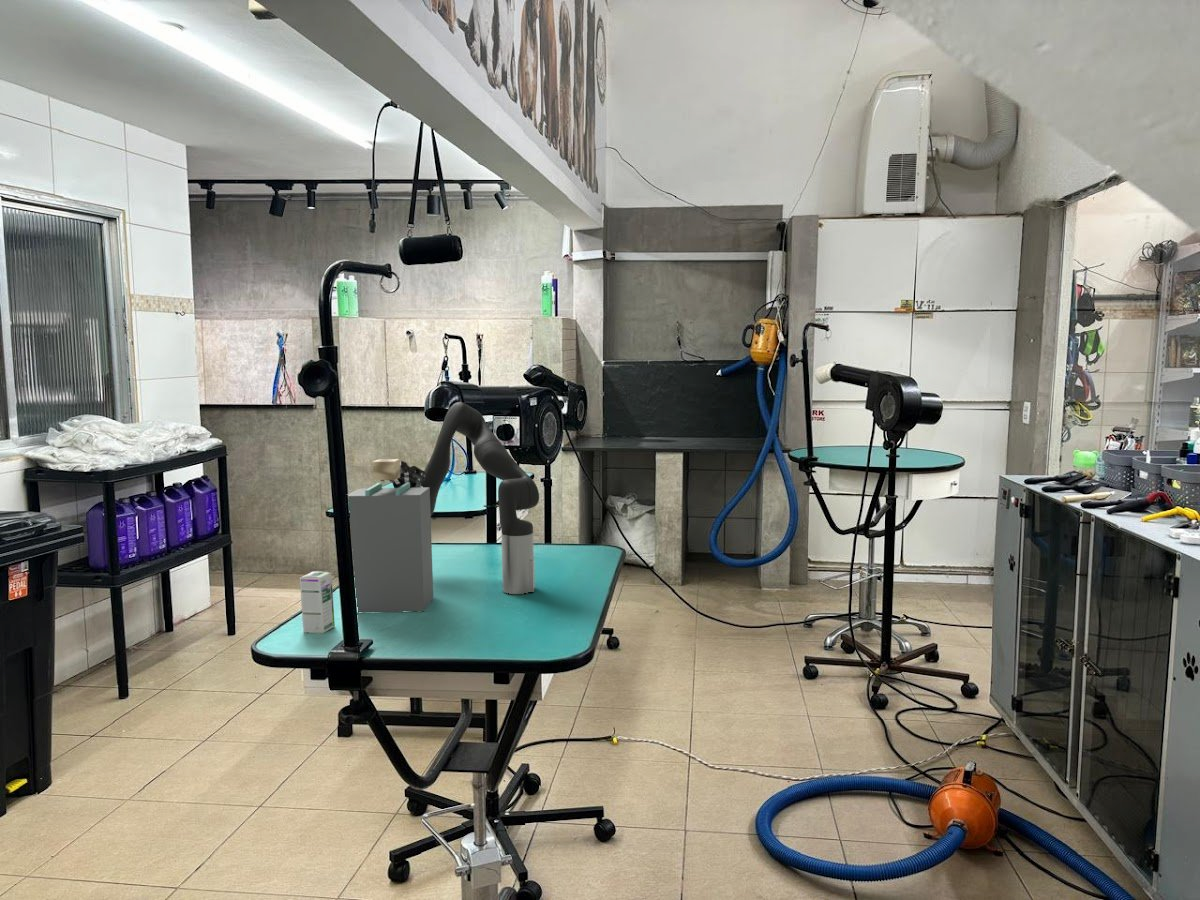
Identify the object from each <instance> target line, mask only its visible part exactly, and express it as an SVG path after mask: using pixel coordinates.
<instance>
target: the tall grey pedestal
mask: <svg viewBox="0 0 1200 900" xmlns="http://www.w3.org/2000/svg"><path fill="white" fill-rule="evenodd" d="M347 495H348V497H349V511H350V527H351V538H352V549H353V560H354V571H355V588H356V598H357V607H358V613H357V614H360V613H359V612H393V613H404V612H403V611H424V612H425V611H426V610H427V608H428V607H427V606H429V605H430V604H431V602H432V601H431V600H433V599H434V579H433V578H434V577H433V551H432V550H433V549H432V547H433V546H432V545H433V544H432V523H431V522H432V520H431V518H432V517H431V516H432V515H431V513H430V487H422V488H410V482H407V483H405V484H403V485H402V486H400V487H399V488H394V487H383V485H382V482H378V483H375V484H374V485H372V486H370V487H369V488H367V487H366V488H364V487H363V488H356V489H355V490H354V491H352V492H349V493H348V494H347ZM430 601H431V602H430ZM429 603H430V604H429ZM425 609H426V610H425Z"/></svg>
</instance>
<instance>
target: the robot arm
mask: <svg viewBox="0 0 1200 900" xmlns="http://www.w3.org/2000/svg"><path fill="white" fill-rule="evenodd" d="M456 433H459V434H461V435H463V436H465V437H466V438H467V439H468V440H470V441H471V443H472V444H473V445H474V447H473V455H474V457H475V459H476V461H477V462H478V464H479V465H480V467H481V468H482V469H483V470H484V472H486V473H487V474H489V475H491V476H493V477H494V478H496V479H499V480H501V481H500V483H499V484H498V488H497V489H498V490H497V498H498V511H499V513H498V515H499V524H500V530H501V560H502V562H501V565H502V566H501V568H502V569H501V570H502V591H504V592H503V593H504V594H508V593H509V595H525V594H524V593H526V594H529V593H528V592H535V589H536V577H535V576H536V575H535V572H536V570H535V555H534V554H535V553H534V526H533V523H532V522H530V521H528V520H524V519H521V518H519V517H518V516H517V511H523V510H529V509H532V508H535V507H536V506H537V505H538V504H539V501H540V493H539V488H538V486H537V484H536V483H535V481H534V480H533V478H531V476H530V475H529V474H527V472H526V471H525V470H524V469H523V468H521V466H520V465H519V464H518V463H517V462H516V461H515V460H514V458H513V457H512V456H511V454H510V453H509V451H508V450H507V449H506V447H505V445H503V444H502V442H501V441H500V439H498V437H497V436H496V435H495V433H493V432H492V429H490V427H489V425H488V423H487V422H486V420H485V418H484V416H483V414H482V413H481V412H479V411H478V410H477V409H475V408H473V407H471V406H470V405H468V404H466V403H465V402H462V401H458V402H455V403H453V404H452V405H451V406H450V407H449V409H448V411H447V412H446V414H445V416H444V420H443V422H442V425H441V428H440V431H439V433H438V437H437V439H436V443H435V446H434V448H433V451H432V454H431V456H430V458H429V460H428V463H427V464H426V467H425V468H424V470H422V469H420V468H419V467H418V466H416V465H411V466H410V465H408V463H407V462H405V461H404V460H400V462H401V469H402V470H403V473H401V474H400V477H399V478H398V479H396V480H388V481H389V482H390V483H392V486H393V488H399V487H400V486H402V485H403V484H405V483H407V482H410V488H423V487H430V513H431V516H432V515H433V514H434V512H435V508H436V503H437V498H438V495H439V491H440V488H441V486H442V484H444V483H443V482H444V481H445V479H446V477H447V474H448V472H449V471H450V465H451V446H452V440H453V438H454V435H455V434H456ZM379 481H380V482H385V480H379ZM534 588H535V589H534Z"/></svg>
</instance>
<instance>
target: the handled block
mask: <svg viewBox="0 0 1200 900" xmlns="http://www.w3.org/2000/svg"><path fill="white" fill-rule="evenodd" d="M401 473H403V470H402V469H401V460H400V458H389V459H387V458H386V459H385V458H384V459H381V458H379V459H376V460H373V461H372V480H373V481H380V480H384V481H389V480H396V479H398V478H399V477H400V474H401Z"/></svg>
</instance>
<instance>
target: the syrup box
mask: <svg viewBox="0 0 1200 900" xmlns="http://www.w3.org/2000/svg"><path fill="white" fill-rule="evenodd" d="M332 577H333V575H332V572H331V571H324V570H323V571H321V570H320V571H319V570H317V571H311V572H309V573H306V574H305V575H303V576H300V577H299V585H300V587H299V588H300V589H299V590H300V603H301V615H302V616H301V617H302V630H303V633H307V632H310V633H309V634H325V632H328V631H329V630H331V629H333V628H334V627H335V625H336V624H335V610H334V608H335V607H334V595H333V594H334V593H333V591H334V590H333V579H332Z"/></svg>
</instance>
